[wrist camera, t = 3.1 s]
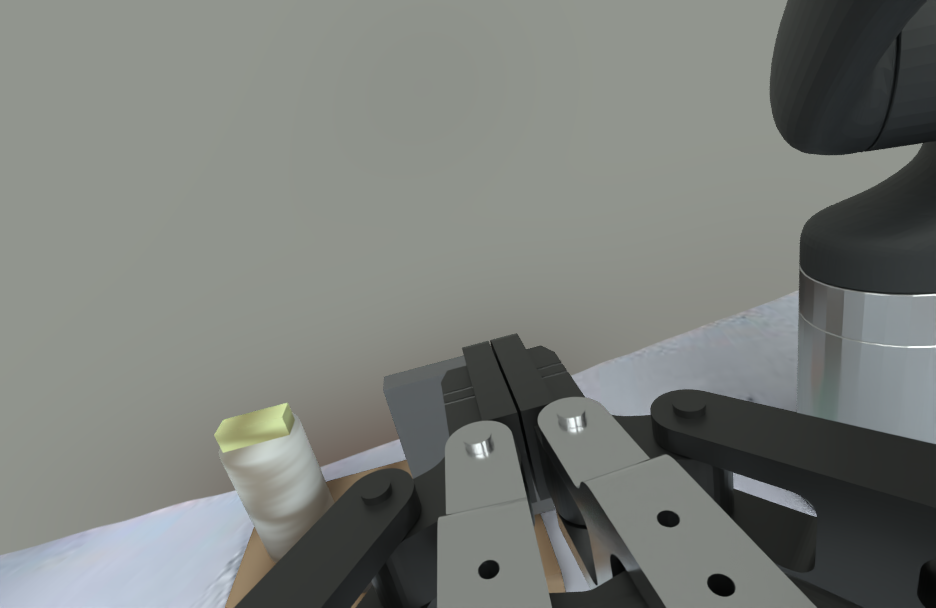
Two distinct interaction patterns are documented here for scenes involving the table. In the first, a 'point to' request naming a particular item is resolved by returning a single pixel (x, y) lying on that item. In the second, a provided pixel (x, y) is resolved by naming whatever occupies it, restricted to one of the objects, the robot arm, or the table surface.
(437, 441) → the grey panel with handle
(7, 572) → the table surface
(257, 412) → the base
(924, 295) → the robot arm
